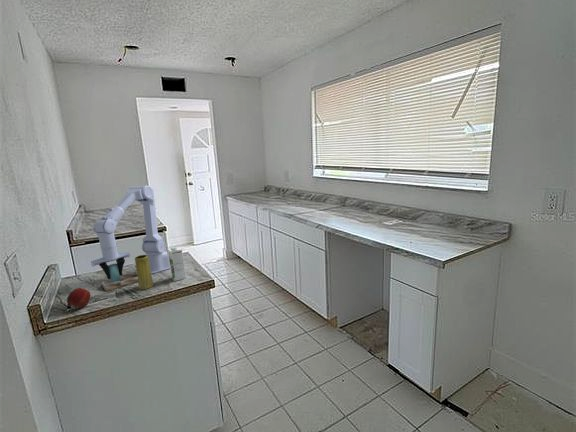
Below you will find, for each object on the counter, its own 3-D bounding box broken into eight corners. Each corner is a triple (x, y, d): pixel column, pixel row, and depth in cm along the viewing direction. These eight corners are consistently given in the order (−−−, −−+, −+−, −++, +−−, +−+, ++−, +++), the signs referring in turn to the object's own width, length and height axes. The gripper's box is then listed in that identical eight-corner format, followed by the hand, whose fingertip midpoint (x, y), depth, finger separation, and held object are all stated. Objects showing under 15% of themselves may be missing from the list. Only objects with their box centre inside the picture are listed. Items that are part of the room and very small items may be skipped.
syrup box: (171, 277, 144) (166, 248, 141) (184, 274, 146) (180, 246, 143) (173, 281, 139) (168, 252, 136) (186, 278, 142) (182, 249, 138)
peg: (119, 277, 133) (116, 262, 132) (121, 280, 130) (118, 265, 129) (109, 280, 131) (106, 265, 129) (111, 283, 128) (108, 267, 126)
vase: (150, 282, 140) (145, 253, 137) (155, 286, 135) (150, 256, 132) (137, 287, 136) (131, 257, 133) (141, 290, 131) (136, 260, 128)
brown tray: (136, 274, 150) (135, 270, 150) (141, 281, 142) (141, 276, 142) (101, 284, 141) (100, 280, 141) (105, 291, 133) (104, 287, 132)
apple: (92, 307, 119) (88, 288, 117) (68, 314, 115) (63, 295, 113) (92, 300, 125) (88, 282, 124) (69, 306, 121) (65, 288, 120)
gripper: (124, 241, 135) (129, 269, 138) (87, 249, 126) (93, 279, 128) (129, 243, 130) (134, 273, 133) (90, 253, 120) (97, 284, 123)
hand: (114, 276), depth 130 cm, fingers closed on peg, 4 cm apart
